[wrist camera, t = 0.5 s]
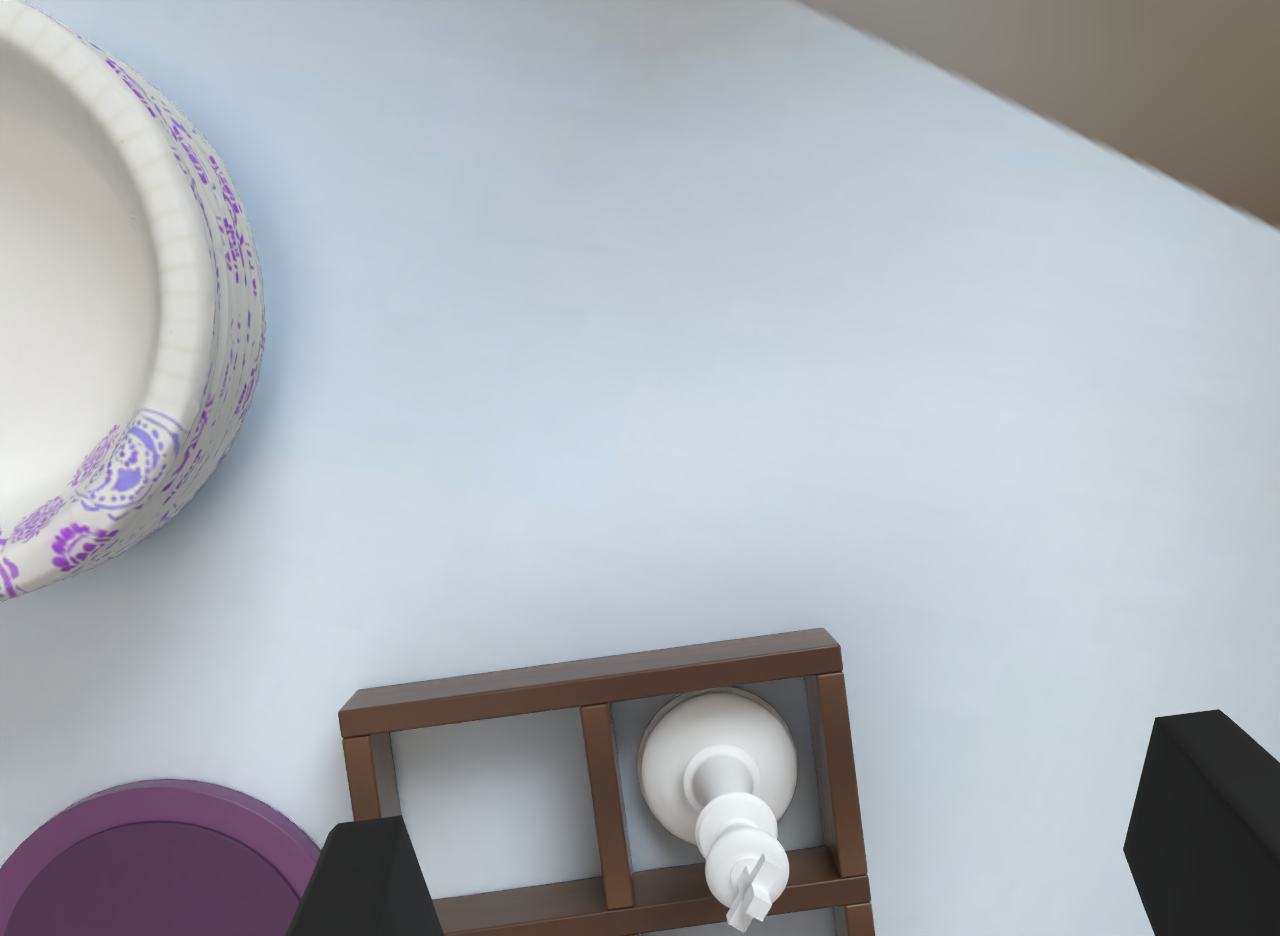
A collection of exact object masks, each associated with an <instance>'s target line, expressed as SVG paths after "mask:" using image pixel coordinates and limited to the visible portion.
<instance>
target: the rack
mask: <svg viewBox="0 0 1280 936" xmlns="http://www.w3.org/2000/svg"><path fill="white" fill-rule="evenodd" d="M842 670H843V664H842V655H841V647H840V645H839V644H838V643H837V641H836V640H835V639H834V638H833V637H832V636H831V635H830V634H829V633H828V632H827V631H826V630H825V629H824V628H817V629H809V630H802V631H794V632H787V633H779V634H772V635H764V636H757V637H749V638H742V639H735V640H727V641H720V642H712V643H705V644H697V645H690V646H682V647H675V648H667V649H660V650H652V651H645V652H637V653H630V654H623V655H615V656H608V657H600V658H593V659H585V660H578V661H570V662H563V663H555V664H548V665H540V666H533V667H525V668H518V669H511V670H503V671H496V672H488V673H481V674H473V675H466V676H458V677H451V678H443V679H436V680H428V681H421V682H413V683H406V684H399V685H391V686H384V687H376V688H369V689H361V690H358V691H356V693H355V694H354V695H353V696H352V697H351V698H350V699H349V700H348V702H347V703H346V704H345V705H344V706H343V707H342V708H341V710H340V711H339V712H338V717H339V724H340V730H341V736H342V738H343V740H342V743H343V750H344V757H345V764H346V770H347V777H348V784H349V791H350V797H351V804H352V811H353V817H354V821H362V820H370V819H377V818H385V817H393V816H401V811H400V805H399V798H398V791H397V784H396V777H395V770H394V763H393V757H392V750H391V743H390V736H389V732H394V731H402V730H409V729H416V728H424V727H431V726H439V725H446V724H454V723H461V722H468V721H476V720H483V719H491V718H498V717H506V716H513V715H520V714H528V713H535V712H543V711H550V710H558V709H565V708H572V707H580V713H581V721H582V728H583V736H584V743H585V750H586V758H587V765H588V773H589V780H590V787H591V795H592V802H593V810H594V817H595V824H596V832H597V839H598V847H599V854H600V861H601V869H602V876H603V877H598V878H591V879H583V880H576V881H569V882H561V883H554V884H547V885H540V886H532V887H525V888H518V889H510V890H503V891H496V892H489V893H481V894H474V895H467V896H459V897H452V898H445V899H438V900H432V902H433V905H434V908H435V911H436V914H437V916H438V919H439V922H440V925H441V928H442V930H443V933H444V936H642V935H641V933H646V932H654V931H661V930H668V929H675V928H683V927H690V926H697V925H704V924H712V923H719V922H726V921H727V917H726V915H727V913H728V911H729V909H730V908H729V907H727V906H725V905H723V904H722V903H721V902H719V901H718V900H717V899H716V898H715V896H714V895H713V894H712V892H711V890H710V889H709V887H708V884H707V881H706V876H705V864H706V863H700V864H693V865H685V866H678V867H671V868H663V869H656V870H649V871H642V872H634V873H633V868H632V861H631V853H630V846H629V838H628V831H627V823H626V816H625V808H624V801H623V793H622V786H621V778H620V771H619V763H618V756H617V748H616V741H615V733H614V726H613V718H612V711H611V703H610V702H617V701H624V700H632V699H639V698H647V697H654V696H662V695H669V694H676V693H684V692H691V691H699V690H706V689H714V688H721V687H728V686H736V685H743V684H751V683H758V682H766V681H773V680H780V679H788V678H795V677H803V676H805V684H806V692H807V700H808V708H809V717H810V725H811V733H812V741H813V749H814V757H815V765H816V774H817V782H818V790H819V798H820V806H821V814H822V822H823V831H824V839H825V845H826V846H824V847H817V848H809V849H802V850H795V851H787V852H786V855H787V858H788V862H789V878H788V882H787V884H786V887H785V889H784V891H783V892H782V894H781V895H780V896H779V898H778V899H777V900H776V901H774V902H773V903H772V906H771V908H770V910H769V911H768V913H767V915H766V916H769V915H777V914H784V913H791V912H798V911H806V910H813V909H820V908H827V907H833V912H834V920H835V928H836V936H875V930H874V921H873V913H872V905H871V902H870V901H871V895H870V887H869V878H868V875H867V863H866V855H865V846H864V838H863V830H862V821H861V813H860V805H859V797H858V788H857V780H856V772H855V763H854V755H853V747H852V739H851V730H850V722H849V714H848V705H847V697H846V689H845V681H844V674H843V672H842Z"/></svg>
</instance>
